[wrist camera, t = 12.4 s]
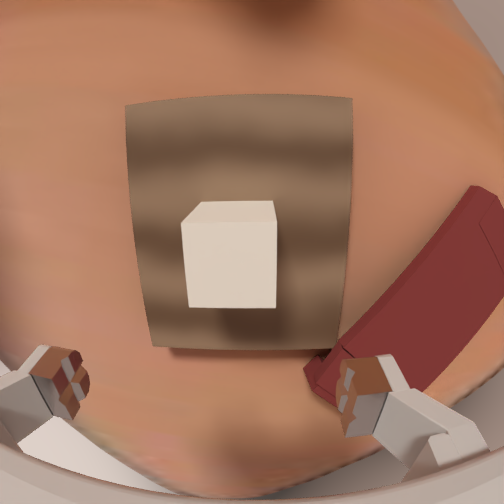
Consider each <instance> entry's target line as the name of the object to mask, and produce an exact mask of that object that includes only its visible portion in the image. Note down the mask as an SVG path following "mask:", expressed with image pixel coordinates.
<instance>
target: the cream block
mask: <svg viewBox="0 0 504 504" xmlns="http://www.w3.org/2000/svg"><path fill="white" fill-rule="evenodd" d="M181 231H182V243H183V254H184V265H185V275H186V285H187V294H188V303H189V307H196V308H276V276H277V219H276V214H275V209H274V204H273V201H213V202H201V203H200V204H199V205H198V206H197V207H196V208H195V209H194V210H193V211H192V212H191V213H190V214H189V215H188V216H187V217H186V218H185V219H184V220H183V221H182V222H181Z"/></svg>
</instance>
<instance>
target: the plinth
mask: <svg viewBox="0 0 504 504" xmlns="http://www.w3.org/2000/svg"><path fill="white" fill-rule="evenodd" d="M125 117H126V147H127V166H128V180H129V193H130V204H131V214H132V223H133V232H134V240H135V247H136V255H137V262H138V269H139V275H140V281H141V288H142V293H143V299H144V305H145V310H146V316H147V321H148V326H149V331H150V336H151V340H152V345H153V346H157V347H172V348H191V349H216V350H300V349H325V348H334V346H335V345H336V343H337V336H338V329H339V322H340V314H341V306H342V298H343V290H344V280H345V271H346V260H347V249H348V237H349V223H350V207H351V186H352V151H353V108H352V98H345V97H333V96H317V95H293V94H243V95H219V96H203V97H190V98H180V99H170V100H161V101H153V102H146V103H139V104H132V105H126V106H125ZM213 201H273V204H274V209H275V214H276V219H277V276H276V308H196V307H189V303H188V294H187V285H186V275H185V265H184V254H183V243H182V231H181V222H182V221H183V220H184V219H185V218H186V217H187V216H188V215H189V214H190V213H191V212H192V211H193V210H194V209H195V208H196V207H197V206H198V205H199V204H200V203H201V202H213Z"/></svg>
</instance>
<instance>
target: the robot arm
mask: <svg viewBox="0 0 504 504" xmlns="http://www.w3.org/2000/svg"><path fill="white" fill-rule="evenodd" d="M82 361H83V360H82V357H81V355H80V353H79V352H78V351H76V350H71V349H65V348H60V347H55V346H49V345H44V344H42V345H39V346H38V347H37V348H36V349H35V350H34V352H33V353H32V354H31V355H30V356H29V357H28V359H27V360H26V361H25V362H24V363H23V364H22V366H21V367H20V368H19V369H18V370H17V371H15V370H14V371H11V372H9V373H7V374H5V375H3V376H1V377H0V504H504V446H503V447H501V448H498V449H496V450H494V451H492V452H490V450H489V448H488V446H487V444H486V443H485V441H484V439H483V437H482V435H481V434H480V432H479V430H478V428H477V427H476V425H475V423H474V422H473V421H471V420H469V419H467V418H466V417H464V416H462V415H460V414H459V413H457V412H455V411H453V410H451V409H450V408H448V407H446V406H445V405H443V404H441V403H439V402H438V401H436V400H434V399H432V398H431V397H429V396H427V395H425V394H424V393H422V392H420V391H419V390H417V389H415V388H413V389H410V387H409V385H408V383H407V382H406V380H405V378H404V376H403V374H402V372H401V370H400V368H399V367H398V365H397V363H396V361H395V359H394V357H393V356H392V355H391V354H386V355H378V356H374V357H363V358H353V359H342V362H341V365H340V369H339V370H340V373H341V378H340V379H339V380H338V381H337V386H336V403H337V408H338V410H339V411H340V412H341V413H343V414H342V418H341V424H342V428H343V432H344V436H345V437H355V436H364V435H371V434H373V435H372V436H373V437H374V438H375V439H377V440H378V441H379V442H380V443H381V444H382V445H383V446H384V447H385V448H386V449H387V450H389V451H390V452H391V453H392V454H393V455H394V456H395V457H396V458H397V459H399V460H400V461H401V462H402V463H403V464H404V465H405V466H406V467H408V468H409V469H410V470H409V471H408V473H407V474H406V476H405V477H404V478H403V480H402V481H401V483H397V484H392V485H388V486H383V487H379V488H374V489H368V490H364V491H357V492H351V493H345V494H337V495H330V496H321V497H312V498H298V499H281V500H280V499H279V500H235V499H215V498H203V497H192V496H183V495H176V494H168V493H162V492H155V491H149V490H144V489H139V488H134V487H129V486H125V485H120V484H116V483H112V482H108V481H104V480H100V479H96V478H92V477H89V476H86V475H82V474H79V473H76V472H73V471H70V470H67V469H64V468H61V467H58V466H55V465H53V464H50V463H47V462H44V461H42V460H40V459H37V458H34V457H32V456H30V455H27V454H25V453H23V451H22V450H21V448H20V447H19V446H18V445H17V443H18V442H19V441H21V440H22V439H23V438H25V437H26V436H28V435H29V434H30V433H32V432H33V431H34V430H36V429H37V428H39V427H40V426H41V425H43V424H44V423H45V422H46V421H48V420H49V419H51V418H52V417H53V416H57V417H61V418H65V419H69V420H73V419H74V417H75V416H76V414H77V412H78V410H79V408H80V403H79V401H80V400H82V399H84V398H86V396H87V394H88V392H89V386H90V380H89V375H88V373H87V371H86V370H85V369H84V368H83V367H82V366H81V364H82ZM52 415H53V416H52Z"/></svg>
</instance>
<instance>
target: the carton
mask: <svg viewBox="0 0 504 504" xmlns="http://www.w3.org/2000/svg"><path fill="white" fill-rule="evenodd" d="M503 297H504V209H503V207H502V205H501V203H500V201H499V199H498V197H497V196H496V195H494V194H493V193H491V192H489V191H487V190H485V189H484V188H482V187H480V186H470V187H469V189H468V190H467V192H466V193H465V194H464V196H463V197H462V199H461V200H460V201H459V203H458V204H457V205H456V207H455V208H454V210H453V211H452V212H451V214H450V215H449V216H448V218H447V219H446V220H445V221H444V223H443V224H442V225H441V227H440V228H439V229H438V230H437V232H436V233H435V234H434V236H433V237H432V238H431V239H430V241H429V242H428V243H427V244H426V245H425V247H424V248H423V249H422V250H421V252H420V253H419V254H418V255H417V256H416V258H415V259H414V260H413V261H412V262H411V263H410V265H409V266H408V267H407V268H406V269H405V270H404V272H403V273H402V274H401V275H400V276H399V277H398V278H397V280H396V281H395V282H394V283H393V284H392V285H391V286H390V287H389V288H388V290H387V291H386V292H385V293H384V294H383V295H382V296H381V297H380V298H379V299H378V300H377V301H376V303H375V304H374V305H373V306H372V307H371V308H370V309H369V310H368V311H367V312H366V313H365V314H364V315H363V316H362V317H361V318H360V319H359V320H358V321H357V322H356V323H355V324H354V325H353V326H352V327H351V328H350V329H349V330H348V331H347V332H346V333H345V334H344V335H343V336H342V337H341V338H340V339H339V341H338V342H337V343H336V345H335V346H334V348H333V349H332V350H331V352H330V353H329V354H328V356H327V357H326V358H325V360H323V359H322V358H321V357H320V356H318V355H317V356H316V357H315V358H313V359H312V360H311V361H310V362H309V363H308V364H307V365H306V366H305V367H304V368H303V369H304V372H305V374H306V377H307V379H308V382H309V384H310V387H311V389H312V391H313V392H314V393H316V394H317V395H319V396H320V397H322V398H323V399H325V400H326V401H328V402H329V403H331V404H332V405H334V406H335V407H337V403H336V386H337V381H338V380H339V379H340V378H341V373H340V370H339V369H340V365H341V362H342V359H353V358H363V357H374V356H378V355H386V354H391V355H392V356H393V357H394V359H395V361H396V363H397V365H398V367H399V368H400V370H401V372H402V374H403V376H404V378H405V380H406V382H407V383H408V385H409V387H410V389H413V388H415V389H417V390H419V391H420V392H423V391H424V390H425V389H426V388H427V387H428V386H429V385H430V384H431V383H432V382H433V381H434V380H435V379H436V378H437V377H438V376H439V375H440V374H441V373H442V372H443V371H444V370H445V369H446V368H447V366H448V365H449V364H450V363H451V362H452V361H453V360H454V359H455V358H456V356H457V355H458V354H459V353H460V352H461V351H462V350H463V348H464V347H465V346H466V345H467V344H468V343H469V341H470V340H471V339H472V338H473V336H474V335H475V334H476V333H477V332H478V330H479V329H480V328H481V326H482V325H483V324H484V323H485V321H486V320H487V319H488V317H489V316H490V315H491V313H492V312H493V311H494V309H495V308H496V307H497V305H498V304H499V302H500V301H501V300H502V298H503Z"/></svg>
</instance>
